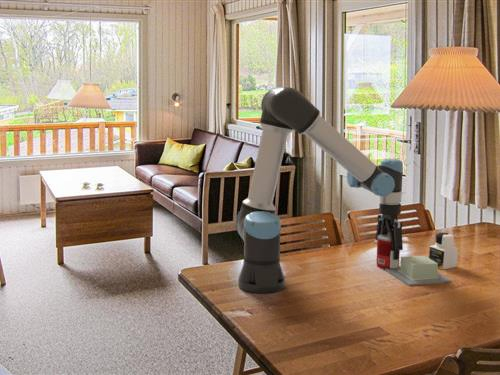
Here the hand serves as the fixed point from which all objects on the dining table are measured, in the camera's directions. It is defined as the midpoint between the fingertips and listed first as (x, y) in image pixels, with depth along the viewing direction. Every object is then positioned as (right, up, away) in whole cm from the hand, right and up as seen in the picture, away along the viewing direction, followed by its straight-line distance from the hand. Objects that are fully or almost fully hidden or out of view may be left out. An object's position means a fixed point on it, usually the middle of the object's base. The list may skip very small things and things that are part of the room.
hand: (387, 264), depth 212 cm
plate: (+8, -3, -10) cm, 13 cm away
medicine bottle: (+20, -1, +2) cm, 20 cm away
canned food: (0, -1, 0) cm, 1 cm away
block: (+8, -2, -10) cm, 13 cm away
